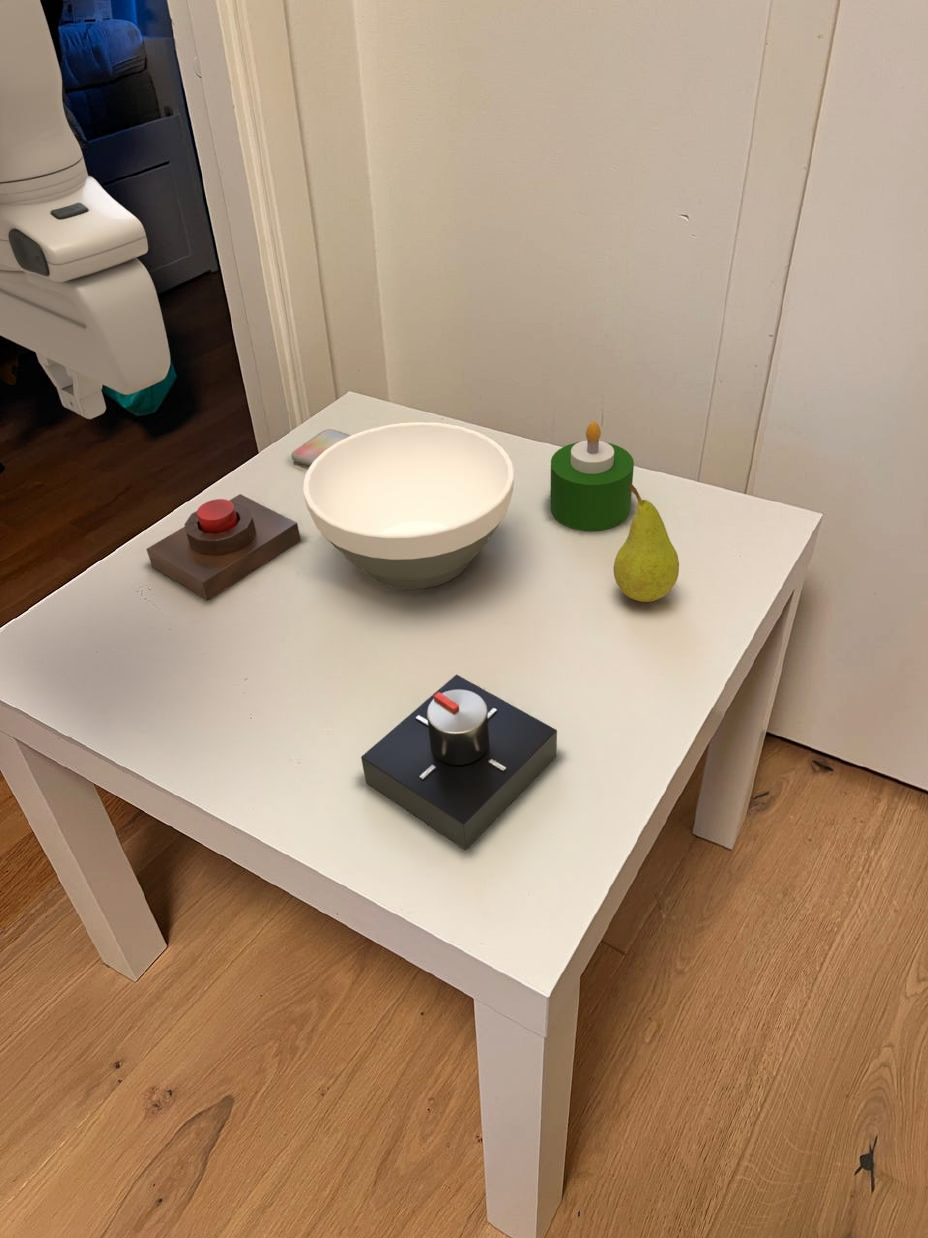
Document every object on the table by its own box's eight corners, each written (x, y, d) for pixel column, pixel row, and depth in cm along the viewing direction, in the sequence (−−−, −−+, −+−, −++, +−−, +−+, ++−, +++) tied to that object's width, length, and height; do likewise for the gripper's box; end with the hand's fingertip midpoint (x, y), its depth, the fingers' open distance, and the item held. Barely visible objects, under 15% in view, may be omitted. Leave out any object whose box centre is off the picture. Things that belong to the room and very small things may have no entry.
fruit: (687, 604, 85) (703, 493, 78) (631, 623, 84) (641, 512, 76) (653, 569, 90) (665, 461, 82) (599, 587, 88) (606, 477, 80)
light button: (216, 539, 91) (212, 524, 90) (193, 526, 93) (189, 511, 91) (245, 521, 93) (241, 506, 92) (222, 509, 95) (218, 494, 93)
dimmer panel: (465, 850, 67) (463, 823, 65) (365, 782, 72) (360, 755, 70) (556, 756, 73) (557, 728, 71) (458, 699, 78) (456, 672, 76)
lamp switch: (207, 600, 89) (198, 567, 87) (151, 566, 94) (140, 533, 91) (301, 540, 96) (294, 507, 93) (244, 510, 101) (236, 479, 98)
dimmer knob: (501, 741, 70) (499, 706, 68) (459, 775, 68) (456, 740, 65) (459, 712, 73) (456, 677, 70) (418, 744, 70) (413, 709, 68)
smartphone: (327, 426, 112) (431, 457, 105) (328, 433, 112) (432, 465, 106) (286, 454, 107) (392, 488, 100) (287, 461, 108) (393, 496, 101)
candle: (586, 541, 93) (590, 453, 87) (534, 505, 99) (533, 420, 92) (647, 510, 97) (655, 424, 90) (593, 477, 102) (596, 393, 96)
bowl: (549, 530, 95) (550, 448, 89) (450, 647, 83) (443, 561, 76) (389, 483, 103) (380, 405, 97) (277, 583, 91) (258, 501, 85)
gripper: (-103, 196, 63) (-28, 386, 72) (68, 260, 53) (131, 473, 62) (-15, 173, 66) (46, 357, 75) (161, 230, 56) (207, 435, 65)
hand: (85, 410), depth 68 cm, fingers closed
